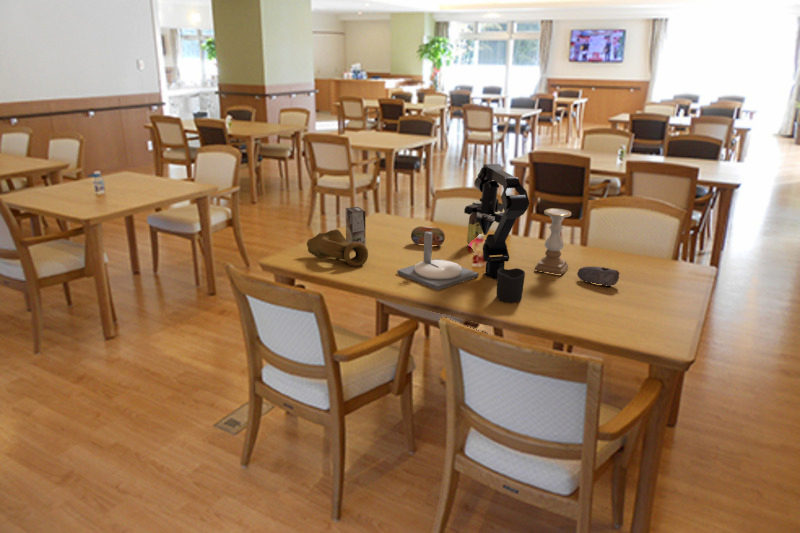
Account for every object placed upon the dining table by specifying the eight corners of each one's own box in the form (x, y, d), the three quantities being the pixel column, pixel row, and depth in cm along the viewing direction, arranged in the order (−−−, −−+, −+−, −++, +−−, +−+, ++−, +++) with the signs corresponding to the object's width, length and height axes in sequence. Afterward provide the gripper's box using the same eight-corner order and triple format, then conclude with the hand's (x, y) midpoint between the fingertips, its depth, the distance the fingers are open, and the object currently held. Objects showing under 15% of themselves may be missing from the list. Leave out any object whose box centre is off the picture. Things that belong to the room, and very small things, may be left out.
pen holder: (503, 291, 215) (506, 265, 212) (527, 298, 209) (530, 271, 206) (490, 298, 208) (492, 272, 205) (514, 306, 203) (516, 278, 199)
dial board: (478, 276, 229) (478, 272, 228) (437, 290, 215) (438, 285, 214) (437, 262, 244) (437, 258, 243) (397, 273, 230) (397, 269, 229)
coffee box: (366, 247, 261) (366, 211, 255) (352, 248, 258) (352, 212, 253) (358, 241, 269) (358, 206, 263) (345, 242, 266) (344, 207, 261)
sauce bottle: (476, 249, 261) (479, 205, 254) (464, 246, 264) (466, 202, 258) (483, 245, 266) (486, 202, 259) (471, 243, 269) (474, 200, 263)
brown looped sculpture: (350, 232, 256) (373, 237, 237) (344, 261, 256) (366, 269, 238) (310, 223, 247) (331, 228, 228) (304, 254, 247) (324, 261, 228)
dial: (461, 264, 236) (463, 231, 232) (461, 280, 219) (463, 245, 215) (416, 262, 238) (417, 229, 233) (412, 277, 221) (413, 243, 217)
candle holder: (534, 271, 236) (540, 212, 228) (541, 263, 245) (547, 206, 237) (561, 276, 231) (568, 216, 223) (568, 268, 240) (575, 210, 232)
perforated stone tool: (574, 281, 226) (576, 264, 224) (579, 277, 230) (581, 260, 228) (613, 291, 218) (616, 273, 216) (618, 286, 222) (621, 269, 220)
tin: (410, 244, 266) (411, 226, 263) (412, 242, 269) (413, 224, 266) (443, 248, 262) (444, 229, 259) (445, 246, 265) (446, 227, 262)
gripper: (521, 198, 231) (516, 236, 237) (481, 188, 242) (477, 224, 248) (505, 203, 223) (500, 242, 229) (465, 192, 234) (461, 230, 240)
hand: (485, 234), depth 237 cm, fingers closed
